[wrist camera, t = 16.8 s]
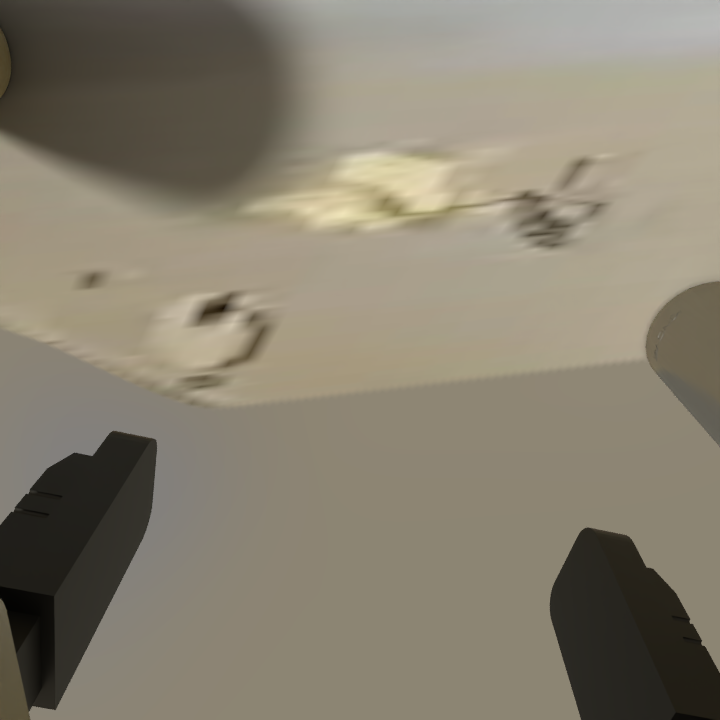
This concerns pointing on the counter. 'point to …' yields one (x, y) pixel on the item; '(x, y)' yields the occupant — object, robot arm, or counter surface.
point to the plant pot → (4, 64)
